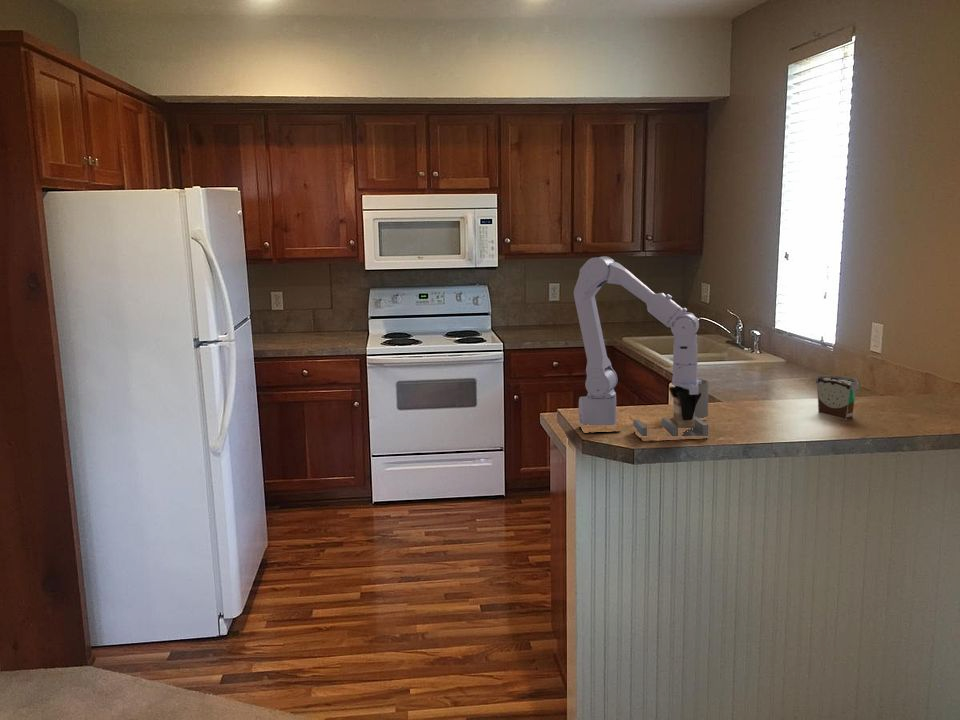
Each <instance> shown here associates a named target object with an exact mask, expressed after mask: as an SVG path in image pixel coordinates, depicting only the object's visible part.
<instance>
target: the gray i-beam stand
mask: <svg viewBox="0 0 960 720" xmlns="http://www.w3.org/2000/svg"><path fill="white" fill-rule="evenodd" d="M632 421H633V422H632V423H633V424H632V425H633V426H634V427H635V428H636V429H637V431H638V432H639V433H640V434H641V435H642V436H647V428H648V427H647V426H646V425H645V424H644V423H643V422H642V421H641V420H640V419H638V418H633V420H632ZM661 424H662V426H663V427H664V428H665V429H666V430H667V431H668V432H669V433H670V434H671V435H672V436H678V426H677V425H676V424H674V421H672V420H671V419H669V417H662V423H661ZM633 426H632V427H633ZM662 426H661V427H662ZM687 431H688V432H687ZM683 433H684V434H683V435H682V436H708V437H709V424H708V423H706V422H705V421H702V420H700V419H699V418H698V417H696V416H695V427H693V430H692V428H691V429H690V430H689V429H688V430H686V431H685V432H683Z"/></svg>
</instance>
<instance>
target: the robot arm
mask: <svg viewBox="0 0 960 720" xmlns="http://www.w3.org/2000/svg"><path fill="white" fill-rule="evenodd" d="M605 284H611V285H612V284H613V285H618V286H619V285H620V286H621V287H623V288H624V289H626V290H627V291H628V292H630V293H631V294H632V295H634V296H635V297H636V298H638V299H639V300H641V301H642V302H643V303H645V305H646V310H647V312H648V313H649V314H650V315H652V316H653V317H654V318H656V319H657V320H658V321H659V322H660V323H662V324H663V325H664V326H665V327H667V328H670V330H671V333H672V335H673V345H672V347H673V349H672V351H673V352H672V362H673V364H672V375H671V376H672V377H671V379H672V380H671V384H672V385H673V386H670V387H669V389H668V390H669V392H670V393H671V396H672V398H673V397H678V398H679V400H680V404H681V411H682V417H683V420H692V419H693V415H694V411H695V407H696V404H697V402H698V400H699V398H700V397H701V393H700V392H699V387H698V384H702V381H701V380H697V379H698V350H699V349H698V347H699V345H698V334H697V332H698V331H699V328H700V322H699V319H698V317H697V316H695V314H694V313H692V312H690V311H689V312H687V311H688V309H687V308H686V307H681V306H680V305H679V304H677V303H676V302H675V301H674V300H672V298H673V296H672V295H670V294H669V293H667V294H665V293H664V292H659V293H655V292H654V291H652V290H651V289H650V288H649V287H648V286H647V285H646V284H645V283H644V282H642V281H641V280H640V279H639V278H637V277H636V276H635V275H634V274H633V273H632V272H631V271H629V270H628V269H627V268H626V267H624V266H623V265H622V264H621V263H619V262H617V261H615V260H614V259H612V258H611V257H610V256H606V255H605V256H604V255H602V256H599V257H591V258H589V259H588V260H587V261H585V263H583V265H582V266H581V267H580V268H579V274H578V278H577V281H576V284H575V286H574V289H573V298H574V302H575V308H576V312H577V317H578V322H579V327H580V332H581V337H582V342H583V346H584V352H585V356H586V366H585V367H586V368H585V373H586V379H585V383H584V385H585V389H586V391H587V395H586V396H580V397H579V398H578V422H579V421H580V423H582V424H583V425H587V424H589V425H614V424H616V425H617V393H616V391H615V388H616V386H617V384H618V382H619V381H618V379H619V378H618V375H617V372H616V371H615V370H614V368H613V367H612V362H611V360H610V358H608V354H607V349H606V345H605V341H604V335H603V330H602V326H601V320H600V316H599V310H598V307H597V300H596V295H597V294H598V292H599V291H600V290H601V288H602V286H604V285H605Z"/></svg>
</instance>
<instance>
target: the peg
mask: <svg viewBox="0 0 960 720" xmlns="http://www.w3.org/2000/svg"><path fill="white" fill-rule="evenodd" d="M672 398H673V399H672V400H673V401H672V403H673V423H674V424H676V425H677V426H678V428H693V427H695V411H694V415H693V419H692V420H683V417H682V411H681V404H680V400H679V398H678V397H673V396H672Z"/></svg>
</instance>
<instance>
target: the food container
mask: <svg viewBox="0 0 960 720" xmlns="http://www.w3.org/2000/svg"><path fill="white" fill-rule="evenodd" d="M814 383H815V384H816V385H817V387H816V388H817V405H818V406H817V408H818V409H817V410H818V413H819V414H821V413H822V415H825V414H826V415H825V416H829V415H830V416H829V417H833V416H834V417H833V418H836V417H838V419H840V418H842V419H841V420H844V419H845V421H847V420H846V419H849V420H851V419H853V413H854V409H855V408H854V407H855V401H856V400H855V399H856V393H857V391H858V390H860V384H859V381H858V379H857V378H853V377H851V376H844V375H830V374H829V375H824V374H823V375H817V376H816V378H815V382H814Z"/></svg>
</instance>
